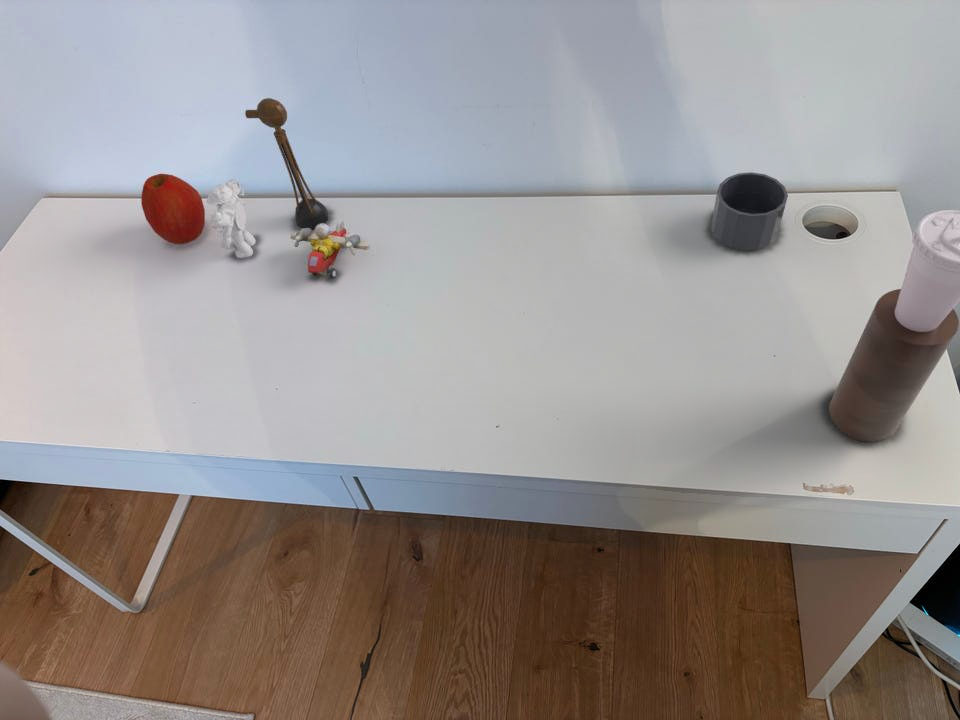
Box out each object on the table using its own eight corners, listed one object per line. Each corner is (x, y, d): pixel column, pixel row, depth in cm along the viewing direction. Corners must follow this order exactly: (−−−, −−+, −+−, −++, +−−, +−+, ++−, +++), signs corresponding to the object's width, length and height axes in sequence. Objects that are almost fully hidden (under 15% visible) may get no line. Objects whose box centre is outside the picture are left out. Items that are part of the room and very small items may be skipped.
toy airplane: (316, 289, 99) (301, 255, 94) (295, 251, 104) (280, 216, 99) (377, 263, 101) (366, 228, 96) (353, 226, 106) (342, 191, 101)
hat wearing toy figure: (252, 269, 103) (219, 202, 94) (226, 270, 103) (190, 204, 94) (266, 226, 108) (236, 159, 99) (241, 227, 109) (209, 161, 99)
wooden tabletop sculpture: (286, 229, 107) (235, 110, 92) (296, 208, 110) (248, 89, 95) (323, 230, 106) (278, 109, 91) (332, 209, 109) (290, 88, 93)
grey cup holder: (782, 214, 98) (792, 178, 93) (771, 256, 93) (781, 221, 89) (718, 203, 100) (725, 168, 96) (705, 244, 96) (711, 209, 91)
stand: (900, 398, 78) (960, 297, 66) (895, 449, 75) (958, 353, 62) (832, 382, 81) (878, 281, 68) (824, 431, 77) (871, 334, 64)
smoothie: (881, 340, 64) (943, 218, 53) (874, 287, 68) (930, 163, 57) (963, 347, 63) (1043, 223, 52) (951, 293, 66) (1023, 167, 55)
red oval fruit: (213, 210, 112) (183, 151, 104) (215, 244, 107) (183, 186, 99) (161, 223, 112) (126, 166, 103) (159, 258, 107) (123, 201, 98)
